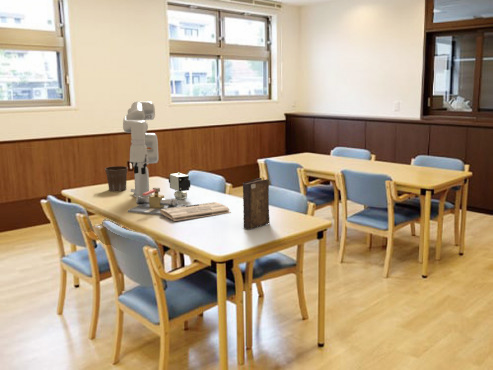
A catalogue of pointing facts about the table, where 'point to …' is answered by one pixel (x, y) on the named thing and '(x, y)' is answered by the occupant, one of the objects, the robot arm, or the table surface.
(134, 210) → the board
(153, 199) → the valve body
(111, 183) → the plant pot
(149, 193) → the lever
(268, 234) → the table surface
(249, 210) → the book
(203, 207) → the newspaper
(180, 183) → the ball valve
